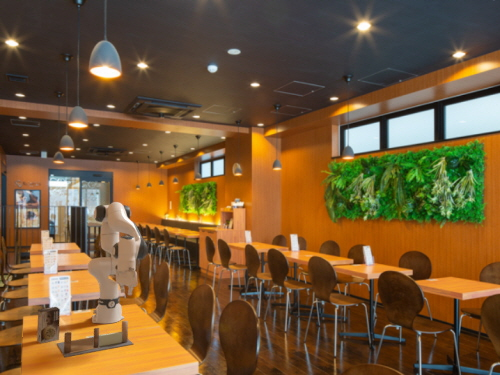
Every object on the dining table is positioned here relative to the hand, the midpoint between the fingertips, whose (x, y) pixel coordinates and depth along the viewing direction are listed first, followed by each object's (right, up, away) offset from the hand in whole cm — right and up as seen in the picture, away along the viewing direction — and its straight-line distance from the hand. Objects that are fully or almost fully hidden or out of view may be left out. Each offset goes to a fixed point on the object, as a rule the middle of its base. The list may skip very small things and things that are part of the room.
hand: (126, 293), depth 201 cm
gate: (-5, -24, -5) cm, 25 cm away
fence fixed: (-17, -23, -14) cm, 32 cm away
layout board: (-14, -24, -5) cm, 29 cm away
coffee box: (-41, -25, +1) cm, 48 cm away
